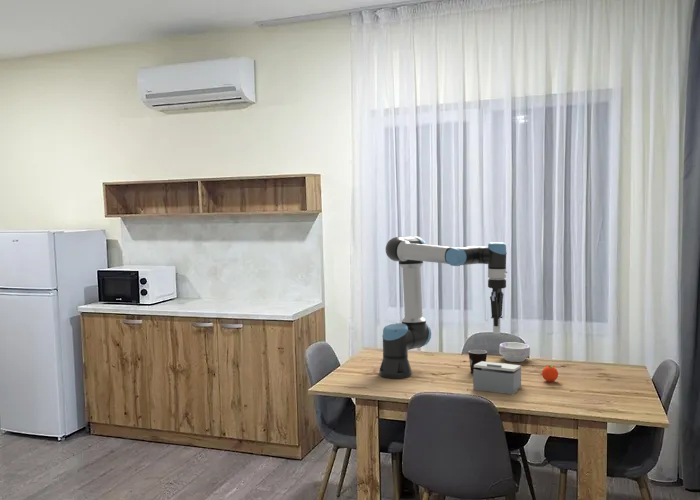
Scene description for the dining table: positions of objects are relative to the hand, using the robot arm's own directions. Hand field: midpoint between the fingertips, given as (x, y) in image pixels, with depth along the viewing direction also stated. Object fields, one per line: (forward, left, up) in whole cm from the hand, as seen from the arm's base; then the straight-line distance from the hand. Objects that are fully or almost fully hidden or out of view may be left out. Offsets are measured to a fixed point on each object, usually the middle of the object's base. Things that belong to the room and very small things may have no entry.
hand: (496, 333), depth 266 cm
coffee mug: (-15, +24, -24) cm, 37 cm away
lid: (0, +1, -15) cm, 15 cm away
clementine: (+19, +22, -24) cm, 38 cm away
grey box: (0, +1, -24) cm, 24 cm away
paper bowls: (-5, +55, -24) cm, 60 cm away
